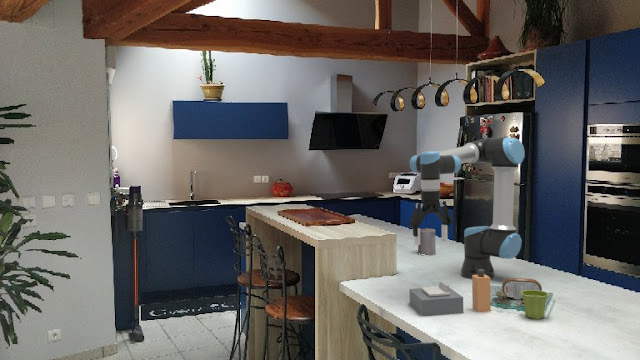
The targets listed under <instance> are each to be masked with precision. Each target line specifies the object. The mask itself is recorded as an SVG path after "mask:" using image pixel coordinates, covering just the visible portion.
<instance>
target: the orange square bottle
mask: <svg viewBox="0 0 640 360" xmlns="http://www.w3.org/2000/svg"><path fill="white" fill-rule="evenodd" d="M471 281H472V282H471V284H472V285H471V286H472V288H471V289H472V290H471V291H472V292H471V293H472V294H471V295H472V298H471V299H472V309H473V310H474V311H476V312H477V313H484V312H491V308H492V307H491V278H490V277H489V276H487V275H485V274H484V269H478V275H472V278H471Z"/></svg>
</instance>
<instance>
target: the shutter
mask: <svg viewBox="0 0 640 360" xmlns="http://www.w3.org/2000/svg"><path fill="white" fill-rule="evenodd" d="M438 283H439V285H437V286H428V287H427V286H426V287H425V286H424V287H421V290H423V291H424V292H425V293H426V294H427V295H428V296H444V295H450V293H449V287H450V286H449V284H447V283H446V282H445V281H443V280H439V281H438Z"/></svg>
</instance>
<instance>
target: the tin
mask: <svg viewBox="0 0 640 360" xmlns="http://www.w3.org/2000/svg"><path fill="white" fill-rule="evenodd" d="M501 288H502V293H503V295H504V296H505V297H506V298H508V297H514V298H522V294H521V292H522V291H525V290H539V291H543V288H542V285H541V283H540V282H539V281H538V280H537V279H533V278H524V277H523V278H521V277H520V278H519V277H510V278H507V279H505V280H504V281H503V282H502V286H501Z"/></svg>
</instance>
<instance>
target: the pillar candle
mask: <svg viewBox="0 0 640 360" xmlns="http://www.w3.org/2000/svg"><path fill="white" fill-rule="evenodd" d="M417 249H418V250H417V251H418V252H417V254H418V253H420V254H425V255H430V256H434V255H436V229H434V228H428V227H426V228H420V245H417ZM433 254H434V255H433Z"/></svg>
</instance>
